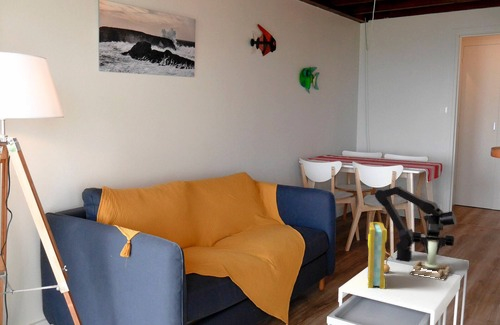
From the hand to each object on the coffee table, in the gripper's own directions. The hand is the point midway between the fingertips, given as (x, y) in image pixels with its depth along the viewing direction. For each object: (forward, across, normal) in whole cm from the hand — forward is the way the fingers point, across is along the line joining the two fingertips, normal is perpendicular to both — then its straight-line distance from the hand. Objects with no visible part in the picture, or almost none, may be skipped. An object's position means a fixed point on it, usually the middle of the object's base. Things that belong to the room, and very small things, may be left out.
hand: (432, 253), depth 221 cm
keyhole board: (+7, 0, +5) cm, 9 cm away
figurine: (+14, -20, -2) cm, 25 cm away
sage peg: (+4, 0, +6) cm, 7 cm away
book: (+25, -23, -12) cm, 36 cm away
